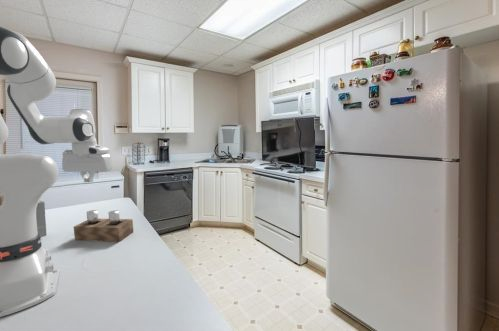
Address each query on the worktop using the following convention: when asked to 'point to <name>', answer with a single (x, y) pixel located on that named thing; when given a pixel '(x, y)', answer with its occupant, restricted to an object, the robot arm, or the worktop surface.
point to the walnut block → (103, 231)
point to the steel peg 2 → (114, 217)
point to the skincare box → (41, 218)
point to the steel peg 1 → (92, 217)
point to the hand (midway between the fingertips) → (88, 182)
